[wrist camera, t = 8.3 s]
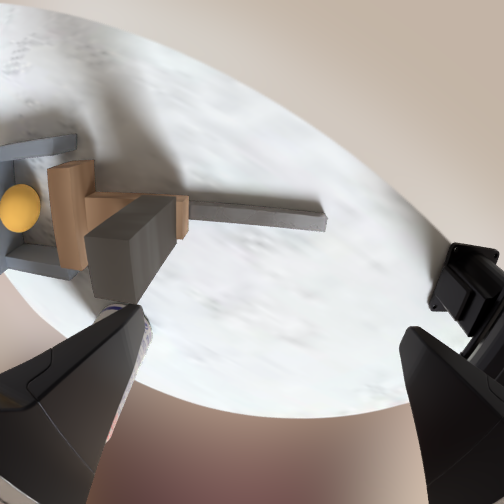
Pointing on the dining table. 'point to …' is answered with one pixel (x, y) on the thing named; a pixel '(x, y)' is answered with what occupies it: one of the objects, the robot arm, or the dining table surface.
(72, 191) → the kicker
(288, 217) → the rail
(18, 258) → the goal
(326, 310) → the dining table surface
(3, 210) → the ball
